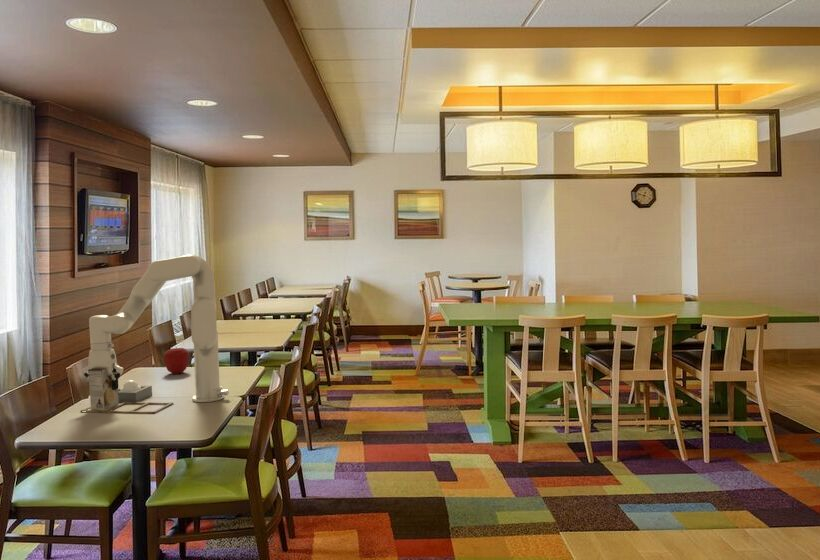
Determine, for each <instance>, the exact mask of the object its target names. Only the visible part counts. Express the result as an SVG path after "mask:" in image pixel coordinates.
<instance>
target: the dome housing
mask: <svg viewBox="0 0 820 560" xmlns="http://www.w3.org/2000/svg"><path fill="white" fill-rule="evenodd" d="M140 386H141V389H139V390H137V391H134V392H129V391H120V388H121V387H118V396H119V402H137V401H138V402H140V401H142V400H144V399H146V397H147V398H149V397H151V396H152V395H153V386H152V385H140ZM139 400H140V401H139Z"/></svg>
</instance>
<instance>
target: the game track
mask: <svg viewBox="0 0 820 560" xmlns="http://www.w3.org/2000/svg"><path fill="white" fill-rule="evenodd" d="M148 404H149V405H154V404H164V405H162V407H159V408H158V409H155V410H153V411H151V410H150V411H149V410H148V411H147V410H140V409H143V408H144V406H145V407H147V406H148ZM172 404H173V405H174V402H163V401H162V402H155V401H153V402H151V401H150V402H149V401H147V402H146V401H138V402H119V404H117V405H115V406H113V407H110V408H108V409H106V410H91V406H89V407H87V408H83V409H81V410H80V412H81V411H86V412H85V413H94V412H106V413H107V414H144V413H147V414H148V415H150V414H151V415H153V414H157V413H159V412H161V411H163V410H164V409H167V408H169V407H170V406H172ZM125 405H139V406H137V407H134V408H133V409H131V410H117V409H118V408H121V407H122V406H125ZM146 405H147V406H146ZM142 407H143V408H142ZM88 409H89V410H88ZM111 410H112V411H111ZM106 413H105V414H106Z"/></svg>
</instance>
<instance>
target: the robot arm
mask: <svg viewBox="0 0 820 560" xmlns="http://www.w3.org/2000/svg"><path fill="white" fill-rule="evenodd" d="M189 277H191V278H192V281H193V282H192V284H193V285H192V289H193V304H192V305H191V308H190V311H191V312H190V317H191V318H190V320H191V323H190V324H191V329H190V330H191V341H192V343H193V358H194V361H193V363H194V380H195V381H194V383H195V384H194V385H195V395H193V396H192V397H191V400H192V401H193V402H195V403H210V402H218V401H220V400H223V399H224V398H225V396H229V394H230V392H229V389H223V386H221V385H220V384H221V383H220V366H219V365H220V363H219V361H220V360H219V359H220V357H219V335H218V334H219V333H218V329H217V328H218V327H217V309H218V307H217V301H216V283H215V276H214V271H213V268H212V267H211V265H210V264H209V263H208V262H207V261H206V260H205V259H203V258H202V257H200V256H198V255H196V254H186V255H182V256H177V257H172V258H166V259H157V260H154V261H151V263H149V265H148V267H147V270H146V271H145V272H144V274H143V275H142V276H141V277H140V279H139V280H138V281H137V283H136V284H135V285H134V286H133V288H132V289H131V293H130V295H129V297H128V299H127V300H126V302H125V303H124V304H123V305H122V307H121V308H120V310H119V311H118V312H117V313H116V314H114V315H107V314H98V315H92V316H90V317H89V319H88V327H89V339H90V341H89V343H90V350H89V353H88V361H87V362H88V363H87V364H88V365H85V366H84V367H83V368H81V370H82V372H83V373H82V374H83V375H84V376H85V378H86V380H87V381H89V373H88V370H89V369H92V368H101V369H103V368H104V369H106V370H107V375H109V376H110V377H111V378H112V379H113V380H112V381H111V383H112V390H116V389H118V388H119V379H120V377H121V376H122V375H123V372H124V367H122V366H120V365H119V364H118V360H117V355H116V351H115V349H114V348H115V344H114V343H112V334H118V335H119V334H125V332H127V331H128V330H129V329H131V328H132V327H133V325H134V324H135V323H136V321H137V320H138V318H140V316H141V315H142V313H143V312H144V311H145V309H146V308H147V307H148V306H149V305H151V304H150V303H152V302H153V300H154V299H155V297H156V296H157V294H158V293H159V291H161V289H162V288H163V286H164V285H165V284H166V283H167V282H169V281H173V280H179V279H185V278H189ZM88 387H89V386H88ZM89 390H90V387H89Z"/></svg>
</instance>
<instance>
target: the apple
mask: <svg viewBox="0 0 820 560" xmlns="http://www.w3.org/2000/svg"><path fill="white" fill-rule="evenodd" d="M189 358H190V354H189V351H188V350H187V349H186V348H184V347H175V348H170V349H167V350H166V351H165V352H164V354H163V362H164V365H165V367H166V370H167V371H168V372H169V373H171V374H172V375H180V374H179V373H181V374H183V373H184V372H185V371H186V369H187V367H188V364H189Z"/></svg>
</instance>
